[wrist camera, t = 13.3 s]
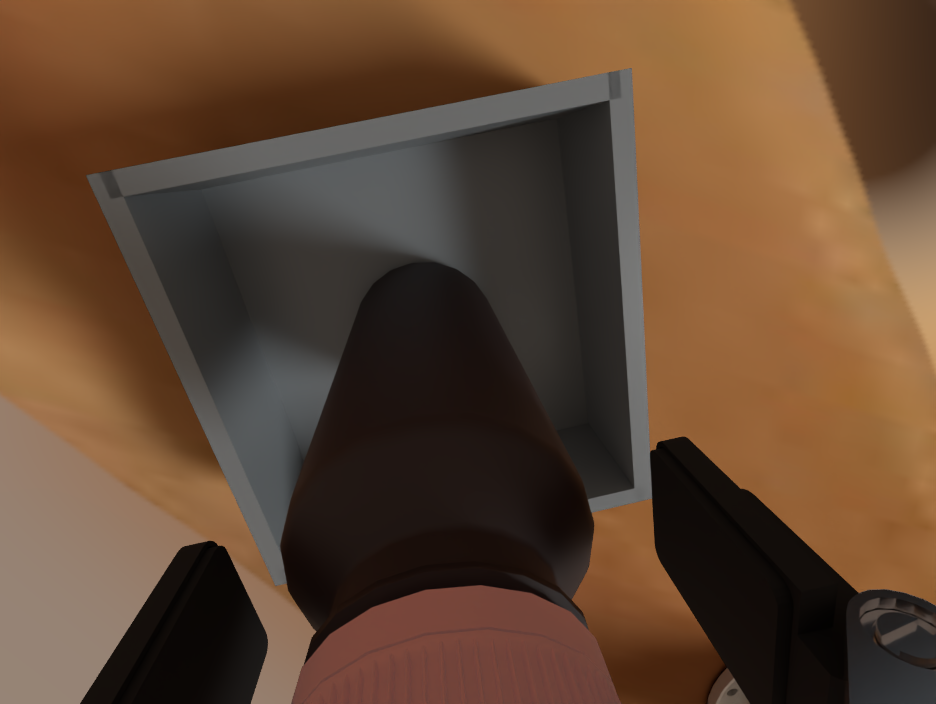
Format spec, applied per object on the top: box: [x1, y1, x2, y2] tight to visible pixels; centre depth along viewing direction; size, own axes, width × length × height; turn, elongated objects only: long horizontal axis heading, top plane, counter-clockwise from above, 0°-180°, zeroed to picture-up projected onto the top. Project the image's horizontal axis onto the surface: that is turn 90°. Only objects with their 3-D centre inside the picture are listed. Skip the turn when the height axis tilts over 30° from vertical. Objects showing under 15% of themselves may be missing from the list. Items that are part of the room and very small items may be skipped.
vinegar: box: [280, 262, 621, 704], centre depth 15 cm, size 7×7×20 cm
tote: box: [86, 68, 652, 586], centre depth 22 cm, size 18×18×7 cm
